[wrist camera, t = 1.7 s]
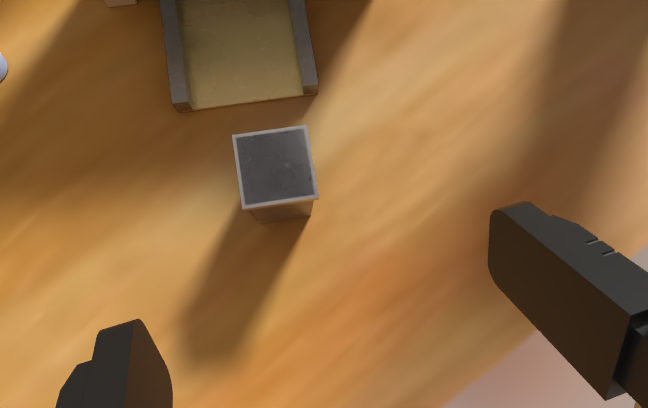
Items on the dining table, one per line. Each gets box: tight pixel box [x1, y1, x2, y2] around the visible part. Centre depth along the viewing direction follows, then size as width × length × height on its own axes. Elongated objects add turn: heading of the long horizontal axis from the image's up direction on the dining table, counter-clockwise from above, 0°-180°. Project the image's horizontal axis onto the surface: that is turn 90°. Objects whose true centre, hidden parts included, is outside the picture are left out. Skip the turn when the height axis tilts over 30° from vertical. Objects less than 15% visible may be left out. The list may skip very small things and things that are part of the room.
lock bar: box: [232, 125, 319, 224], centre depth 31 cm, size 4×4×10 cm
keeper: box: [159, 0, 318, 113], centre depth 36 cm, size 11×10×3 cm
